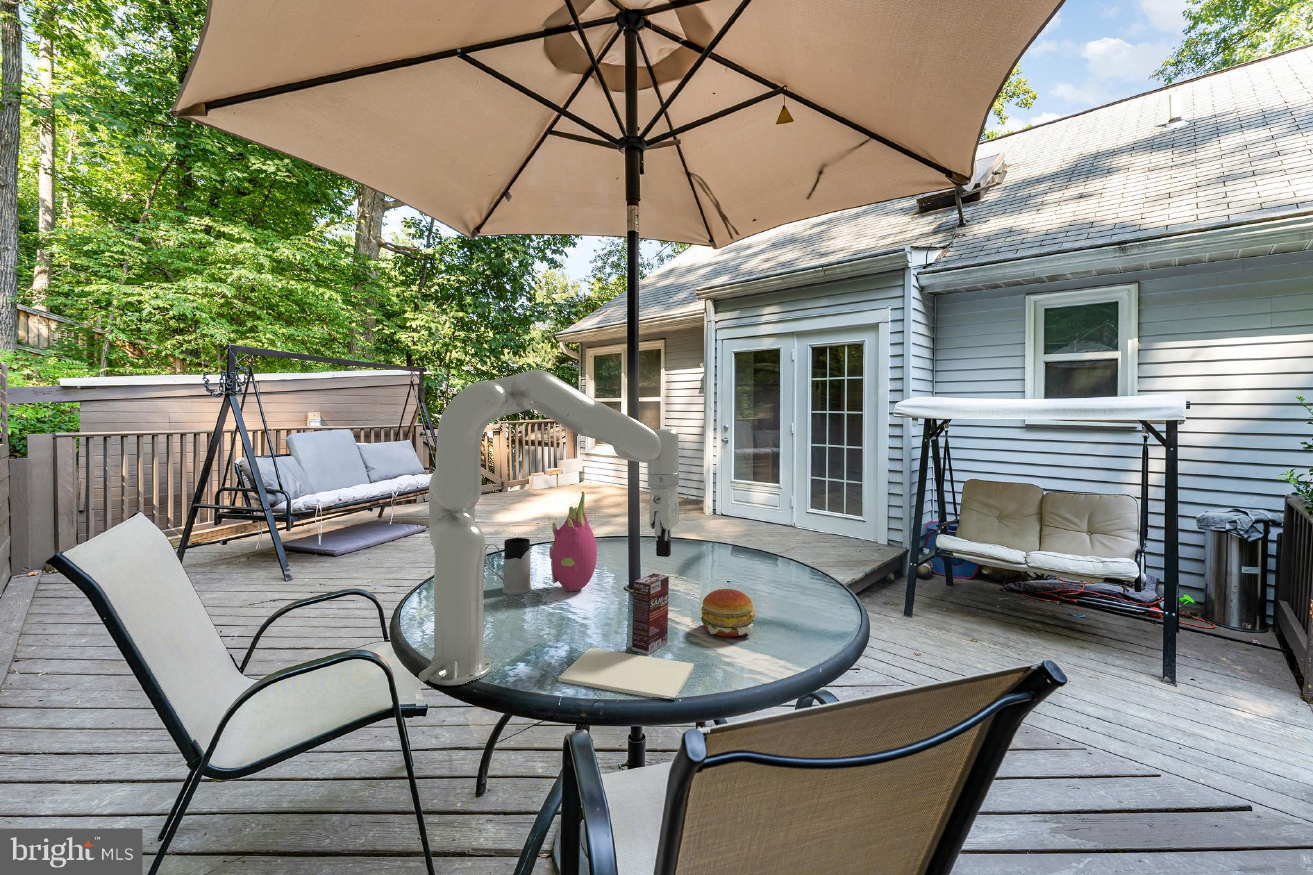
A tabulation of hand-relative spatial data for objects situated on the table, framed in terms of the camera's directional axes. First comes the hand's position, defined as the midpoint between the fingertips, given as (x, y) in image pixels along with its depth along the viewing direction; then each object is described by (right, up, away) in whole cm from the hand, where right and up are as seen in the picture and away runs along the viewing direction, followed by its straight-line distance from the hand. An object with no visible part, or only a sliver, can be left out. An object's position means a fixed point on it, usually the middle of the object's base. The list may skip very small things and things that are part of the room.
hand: (663, 555), depth 136 cm
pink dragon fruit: (-27, -18, +34) cm, 47 cm away
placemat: (-8, -20, -21) cm, 30 cm away
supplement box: (-3, -20, -7) cm, 21 cm away
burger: (+16, -20, +4) cm, 26 cm away
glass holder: (-47, -18, +34) cm, 60 cm away
